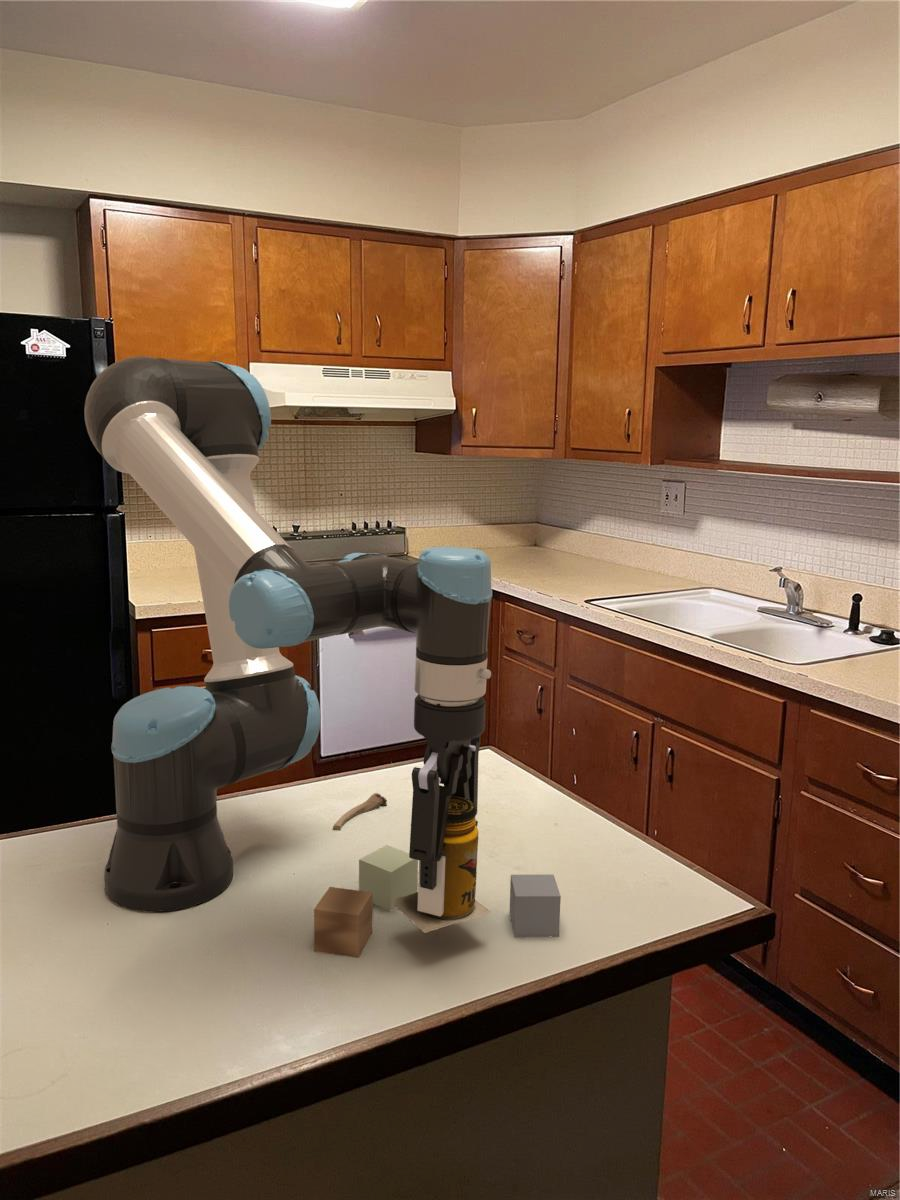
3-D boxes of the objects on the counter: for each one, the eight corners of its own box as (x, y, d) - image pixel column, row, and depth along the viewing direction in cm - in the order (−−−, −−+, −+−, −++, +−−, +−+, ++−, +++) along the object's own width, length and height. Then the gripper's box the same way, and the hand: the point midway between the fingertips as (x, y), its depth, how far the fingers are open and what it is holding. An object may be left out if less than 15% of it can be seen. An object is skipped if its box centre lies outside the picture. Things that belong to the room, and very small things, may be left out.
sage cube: (358, 898, 109) (359, 859, 108) (386, 882, 112) (386, 844, 112) (390, 911, 106) (390, 872, 105) (417, 895, 110) (418, 856, 109)
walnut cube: (314, 951, 97) (313, 909, 96) (329, 927, 102) (329, 886, 101) (358, 958, 96) (358, 915, 95) (372, 933, 101) (372, 892, 100)
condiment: (490, 912, 98) (496, 809, 96) (424, 934, 94) (428, 827, 91) (453, 883, 104) (457, 785, 102) (389, 902, 100) (392, 800, 97)
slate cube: (514, 937, 101) (515, 896, 100) (509, 914, 106) (510, 874, 105) (558, 937, 101) (560, 896, 100) (551, 914, 106) (553, 874, 105)
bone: (323, 829, 127) (323, 815, 127) (374, 803, 137) (374, 790, 136) (337, 834, 126) (337, 819, 126) (387, 807, 135) (388, 794, 135)
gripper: (448, 728, 85) (440, 950, 89) (513, 678, 102) (503, 866, 107) (377, 715, 87) (372, 932, 92) (451, 669, 105) (444, 853, 109)
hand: (442, 896), depth 99 cm, fingers closed on condiment, 6 cm apart
